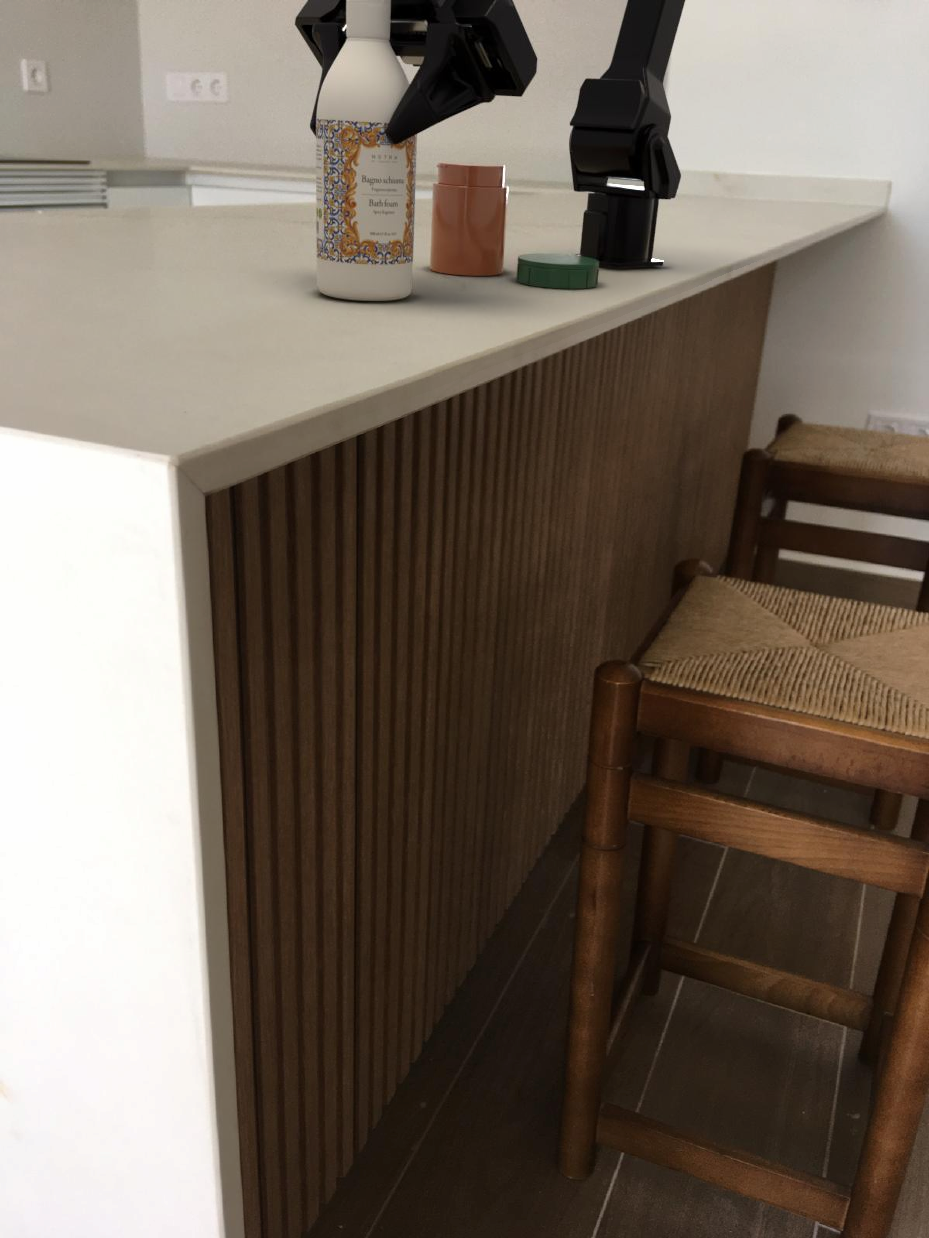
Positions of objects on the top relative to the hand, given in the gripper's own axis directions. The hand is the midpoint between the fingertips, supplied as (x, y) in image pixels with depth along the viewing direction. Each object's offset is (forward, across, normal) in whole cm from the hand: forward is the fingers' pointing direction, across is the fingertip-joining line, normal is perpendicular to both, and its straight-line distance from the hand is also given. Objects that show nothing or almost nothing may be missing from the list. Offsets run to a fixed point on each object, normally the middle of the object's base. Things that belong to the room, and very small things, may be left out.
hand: (350, 136), depth 73 cm
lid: (-8, +4, +21) cm, 22 cm away
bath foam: (+7, 0, +9) cm, 11 cm away
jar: (-6, -5, +21) cm, 22 cm away
